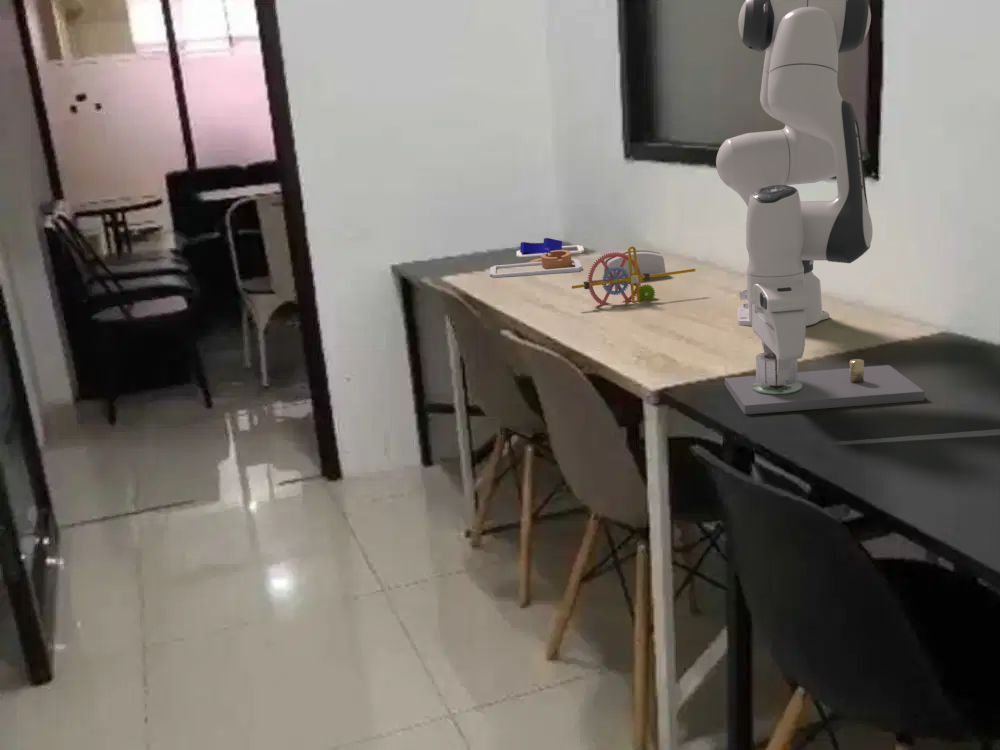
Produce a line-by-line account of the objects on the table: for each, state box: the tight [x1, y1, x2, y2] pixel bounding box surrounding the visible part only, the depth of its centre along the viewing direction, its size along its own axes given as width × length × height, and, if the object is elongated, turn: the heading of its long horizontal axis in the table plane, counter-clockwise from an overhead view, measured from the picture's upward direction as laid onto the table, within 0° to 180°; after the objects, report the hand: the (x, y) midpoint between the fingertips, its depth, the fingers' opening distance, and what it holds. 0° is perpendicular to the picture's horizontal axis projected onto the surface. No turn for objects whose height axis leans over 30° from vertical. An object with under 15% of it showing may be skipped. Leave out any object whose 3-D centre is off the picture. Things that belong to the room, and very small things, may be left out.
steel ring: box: [755, 351, 799, 386], centre depth 171 cm, size 6×6×4 cm
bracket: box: [529, 249, 573, 270], centre depth 298 cm, size 18×8×7 cm, turn 22°
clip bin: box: [516, 244, 585, 259], centre depth 318 cm, size 12×20×4 cm, turn 89°
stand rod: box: [849, 358, 865, 383], centre depth 171 cm, size 2×2×4 cm
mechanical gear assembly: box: [571, 245, 696, 306], centre depth 244 cm, size 30×4×15 cm, turn 102°
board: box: [724, 364, 925, 415], centre depth 172 cm, size 16×28×2 cm, turn 89°
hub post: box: [752, 381, 802, 395], centre depth 172 cm, size 8×8×4 cm
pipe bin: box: [489, 258, 583, 279], centre depth 292 cm, size 15×25×4 cm, turn 89°
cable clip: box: [519, 237, 563, 254], centre depth 315 cm, size 12×4×6 cm
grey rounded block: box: [602, 249, 667, 279], centre depth 271 cm, size 17×5×10 cm, turn 100°
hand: (776, 372), depth 172 cm, fingers closed on steel ring, 6 cm apart
